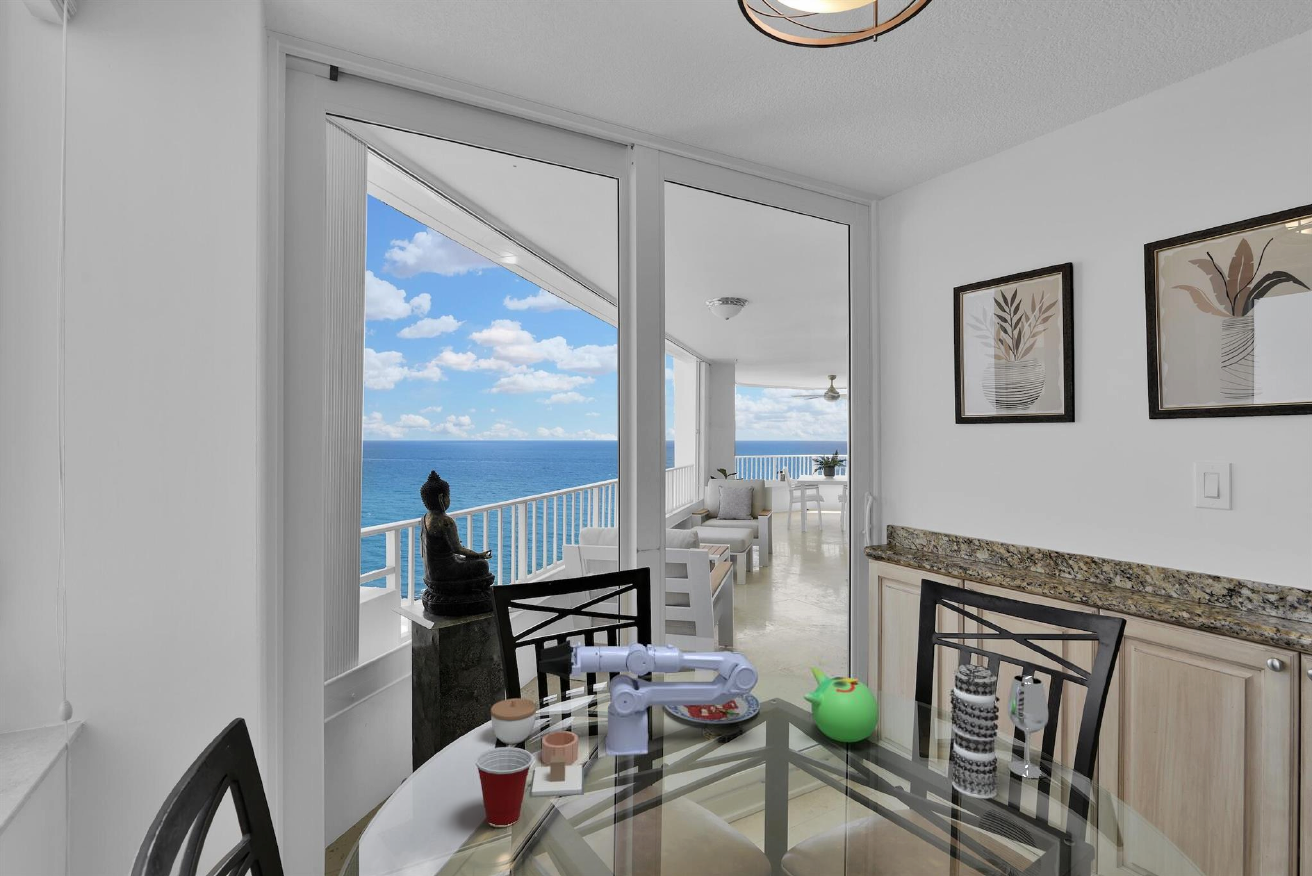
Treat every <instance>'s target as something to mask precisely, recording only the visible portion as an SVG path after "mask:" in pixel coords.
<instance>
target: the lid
mask: <svg viewBox="0 0 1312 876" xmlns="http://www.w3.org/2000/svg"><path fill="white" fill-rule="evenodd" d="M582 768H583V765H582V764H579V765H578V764H575V765H574V764H573V765H572V764H570V765H567V766H565V755H555V756H551V762H550V766H536V767H535V769H534V770H535V774H534V781H533V787H532V796H538V795H558V794H577V793H582Z"/></svg>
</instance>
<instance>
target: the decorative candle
mask: <svg viewBox="0 0 1312 876" xmlns="http://www.w3.org/2000/svg"><path fill="white" fill-rule="evenodd" d="M953 674H954V685H953V688H952V689H950V694H949V696H950V704H951V710H950V713H951V718H950V719H951V721H952V730H953V732H954V740H953V748H952V751H951V754H952V758H951V761H952V763H953V764H952V765H951V771H952V773H951V778H952V782H951V784H952V785H951V786H953V787H954V789H955V790H957V791H958V792H959V793H961V794H963V795H966V796H968V797H971V798H975V799H991V798H994V797H995V796H997V794H998V793H997V791H998V789H997V786H998V783H997V781H998V780H997V778H998V775H997V770H998V766H997V763H998V758H997V757H996V747H995V739H996V738H998V737H997V736H998V732H997V730H998V729H999V725H998V724H997V723H996V721H998V720H999V717H1000V716H999V715H998V714H997V713H999V711H1000V710H999V708H1000V707H998V706H997V705H995V704H994V703H998V702H1000V700H1001V699H1000V698H999V697H997V696H996V690H995V689H996V688H995V682H996V681H997V676H996V675H995V674H993V673H992V671H991V670H990V669H989V668H988V667H986V666H983V665H980V664H975V663H965V664H964V663H963V664H961V665H959V667H958V668H957V669H955V670H953Z"/></svg>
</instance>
